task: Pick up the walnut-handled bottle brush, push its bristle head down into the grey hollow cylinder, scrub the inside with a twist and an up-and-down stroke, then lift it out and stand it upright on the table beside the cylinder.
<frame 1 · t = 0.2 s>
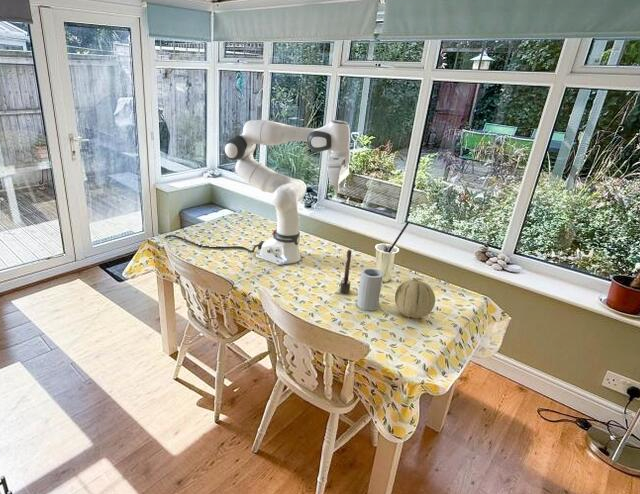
hand: (339, 189, 182), 39 cm above the table, tool pointing down, fingers open, 8 cm apart
bottle brush: (344, 292, 177), on the table
cantaloupe: (411, 315, 161), on the table
grey hollow cylinder: (367, 305, 167), on the table
glass: (383, 279, 188), on the table
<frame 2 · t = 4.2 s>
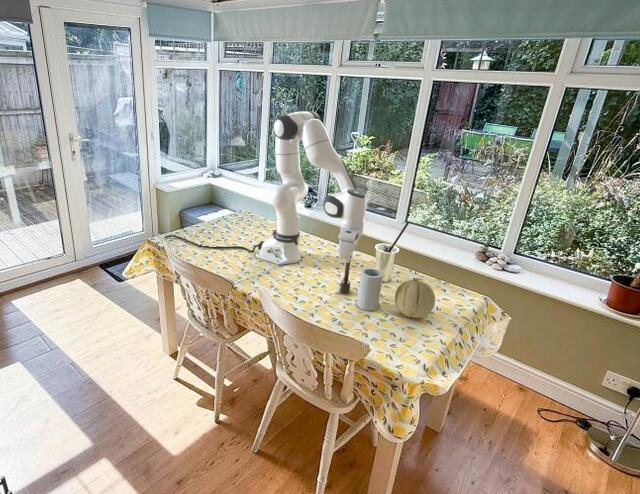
hand: (348, 260, 171), 15 cm above the table, tool pointing down, fingers closed on bottle brush, 2 cm apart
bottle brush: (344, 292, 177), on the table, touching gripper
everything else where it was.
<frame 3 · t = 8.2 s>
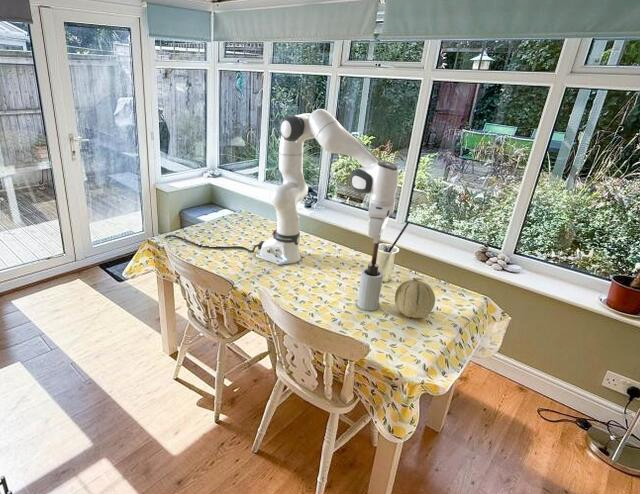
hand: (376, 241, 156), 29 cm above the table, tool pointing down, fingers closed on bottle brush
bottle brush: (371, 276, 162), point 13 cm above the table, touching gripper
everything else where it was.
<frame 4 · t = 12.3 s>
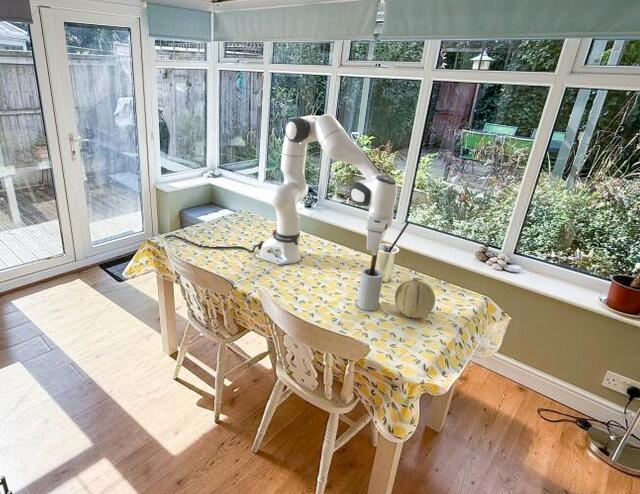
hand: (374, 253, 158), 23 cm above the table, tool pointing down, fingers closed on bottle brush
bottle brush: (369, 287, 164), point 8 cm above the table, touching gripper
everything else where it was.
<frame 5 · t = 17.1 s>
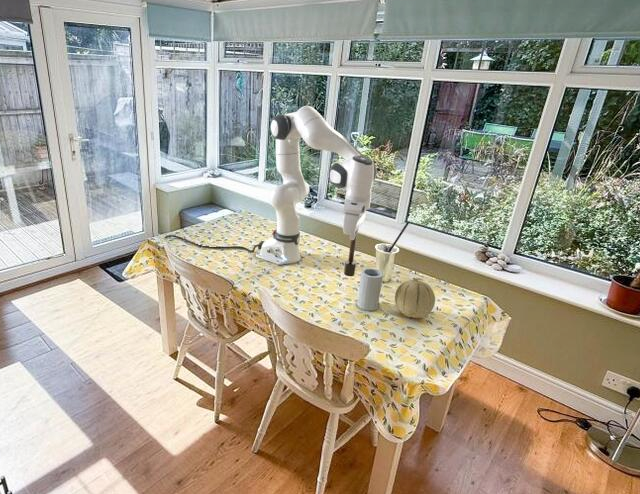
hand: (353, 237, 152), 31 cm above the table, tool pointing down, fingers closed on bottle brush
bottle brush: (349, 274, 158), point 16 cm above the table, touching gripper
everything else where it was.
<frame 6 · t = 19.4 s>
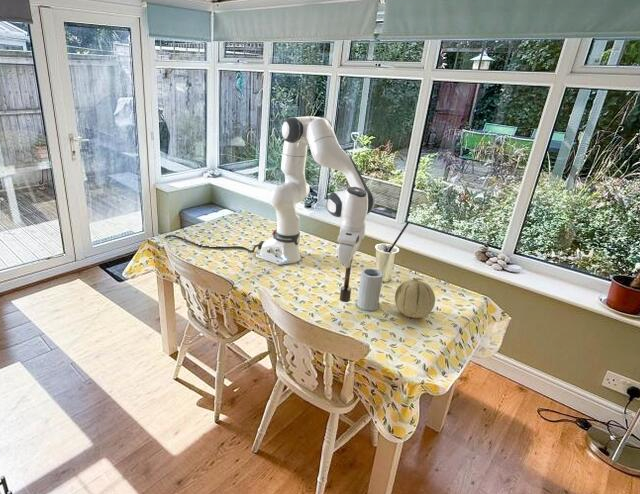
hand: (348, 265, 156), 20 cm above the table, tool pointing down, fingers closed on bottle brush
bottle brush: (344, 299, 162), point 5 cm above the table, touching gripper
everything else where it was.
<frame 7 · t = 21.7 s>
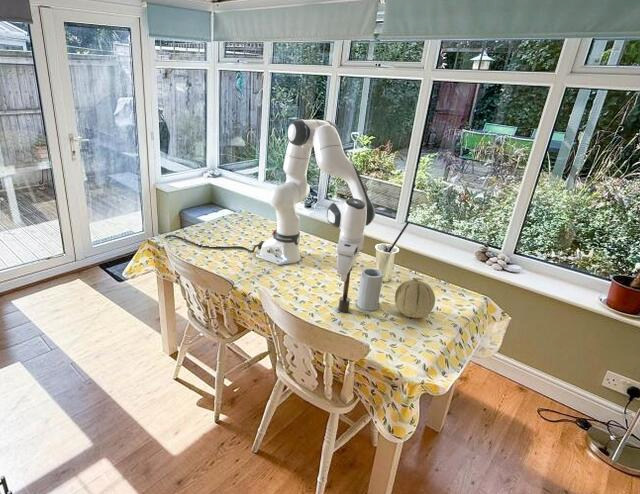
hand: (346, 275, 158), 16 cm above the table, tool pointing down, fingers open, 8 cm apart
bottle brush: (343, 309, 164), on the table
everything else where it was.
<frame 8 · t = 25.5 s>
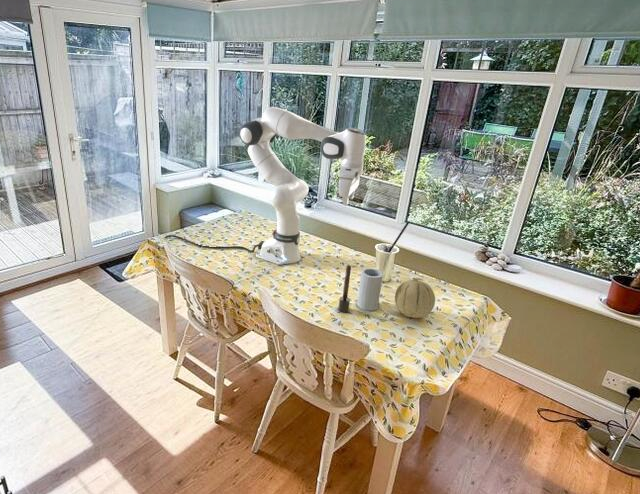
hand: (348, 201, 173), 37 cm above the table, tool pointing down, fingers open, 8 cm apart
nothing on the table moved.
at the end: bottle brush inside the target area (0.2 cm from its centre), on the table; bottle brush tilted 0°; the gripper is holding nothing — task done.
